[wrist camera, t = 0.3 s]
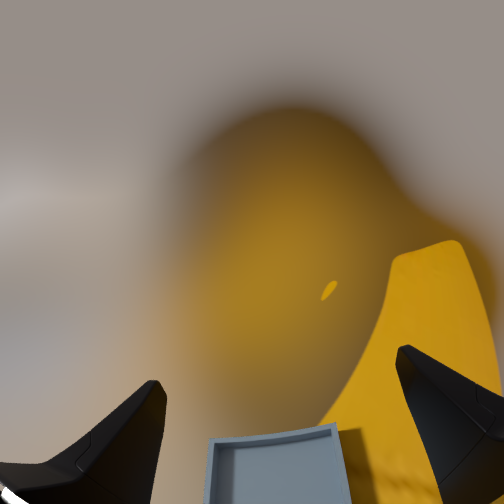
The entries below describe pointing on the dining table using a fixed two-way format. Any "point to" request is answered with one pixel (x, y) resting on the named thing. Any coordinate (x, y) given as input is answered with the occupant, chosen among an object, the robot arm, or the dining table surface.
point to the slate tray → (278, 468)
